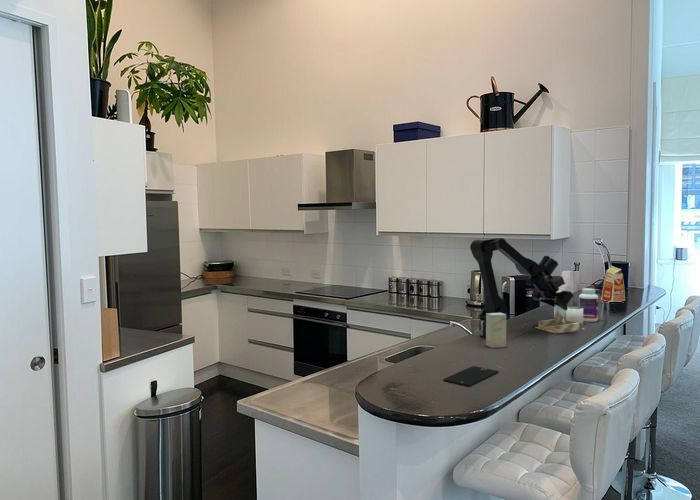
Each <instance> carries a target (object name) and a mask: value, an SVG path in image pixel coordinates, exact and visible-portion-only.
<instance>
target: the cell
mask: <svg viewBox="0 0 700 500" xmlns="http://www.w3.org/2000/svg"><path fill="white" fill-rule="evenodd" d="M560 292H561V291H557V293H560ZM555 303H556V299H555V300H554V307H553V319H554V325H563V324H566V310H564V309H562V308H560V307H558V306H557V305H555Z"/></svg>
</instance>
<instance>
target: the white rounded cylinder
mask: <svg viewBox="0 0 700 500" xmlns="http://www.w3.org/2000/svg"><path fill="white" fill-rule="evenodd" d="M567 308H568V309H567V310H566V320H570V321H575V322H579V323H582V326H583V325H584V321H583V308H581V307H579V306H567Z"/></svg>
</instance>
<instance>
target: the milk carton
mask: <svg viewBox="0 0 700 500" xmlns="http://www.w3.org/2000/svg"><path fill="white" fill-rule="evenodd" d="M624 282H625V281H624V273H623V272H622V268H618V267H616V266H613V265H610V268H608V269H607V270H606V271H605V276H604V282H603V286H602V291H601V297H600V301H601V300H604V301H608V302H607V303H609V302H622V301H625V302H626V291H625V283H624ZM622 303H623V302H622Z"/></svg>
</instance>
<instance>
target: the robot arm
mask: <svg viewBox="0 0 700 500" xmlns="http://www.w3.org/2000/svg"><path fill="white" fill-rule="evenodd" d="M469 248H470V249H469V250H470V252H471V254H472V256H473V258H474V260H475V261H476V262H477V264H478V268H479V271H480V276H481V280H482V285H483V289H484V293H485V300H484V303H483V304H484V305H483V307H484V309H483V310H482V311H481V313H480V314H479V315H478V318H479V320H480V322H481V321H482V334H480V335H479V336H480V337H481V338H484V339H486V313H503V314H506V315H507V313H508V311H507V310H508V306H507V300H506V299H505V298H504V297H503V298H502V297H501V296H500V294H499V290H498V287H497V283H496V281H497V280H496V278H495V273H494V269H493V265H492V260H493V259H492V258H493V255H494V252H496V251H497V250H498V252H500V253H501V255H503V256H504V257H506V258H507V259H508V260H509V261H510V262H512V263H513V264H514V266H515V268H516V270H517V272H519V273H520V274H521V275H523V276H529V277H527V278H526V281H525V284H526V285H529V286H534V287H535V289H534V290H533V292H532V293H531V298H532V299H533V301H540V303H543V304H544V305H548V306H550V307H552V308H554V300H555V299H556V303H555V305H557V306H558V307H560V308H562V309H564V310H567V309H568V308H567V307H568V304H569V303H570V301H571V300H572V298H574V294H573V292H572V291H570V290H561V291H560V287H562V286H563V285H565V284H566V283H565V279H564V277H563V276H561V275H552V274H553V273H554V271H555V270H556V269H557V267H558V266H559V263H558V261H557V260H556V259H553V258H552V257H550V256H549V255H544V256H543V257H542V259H541V261H540V262H539V263H538V262H536V261H535V260H532V259H530V258H528V257H525V256H523V254H522V253H520V251H518V250H517V249H516V248H515V247H513V246H512V245H511V244H510V243H509V242H508V241H507V240H506V239H505V238H504V237H494V238H490V239H474V240H473V241H472V242H471V244H470V245H469ZM558 292H560V293H558Z"/></svg>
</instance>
